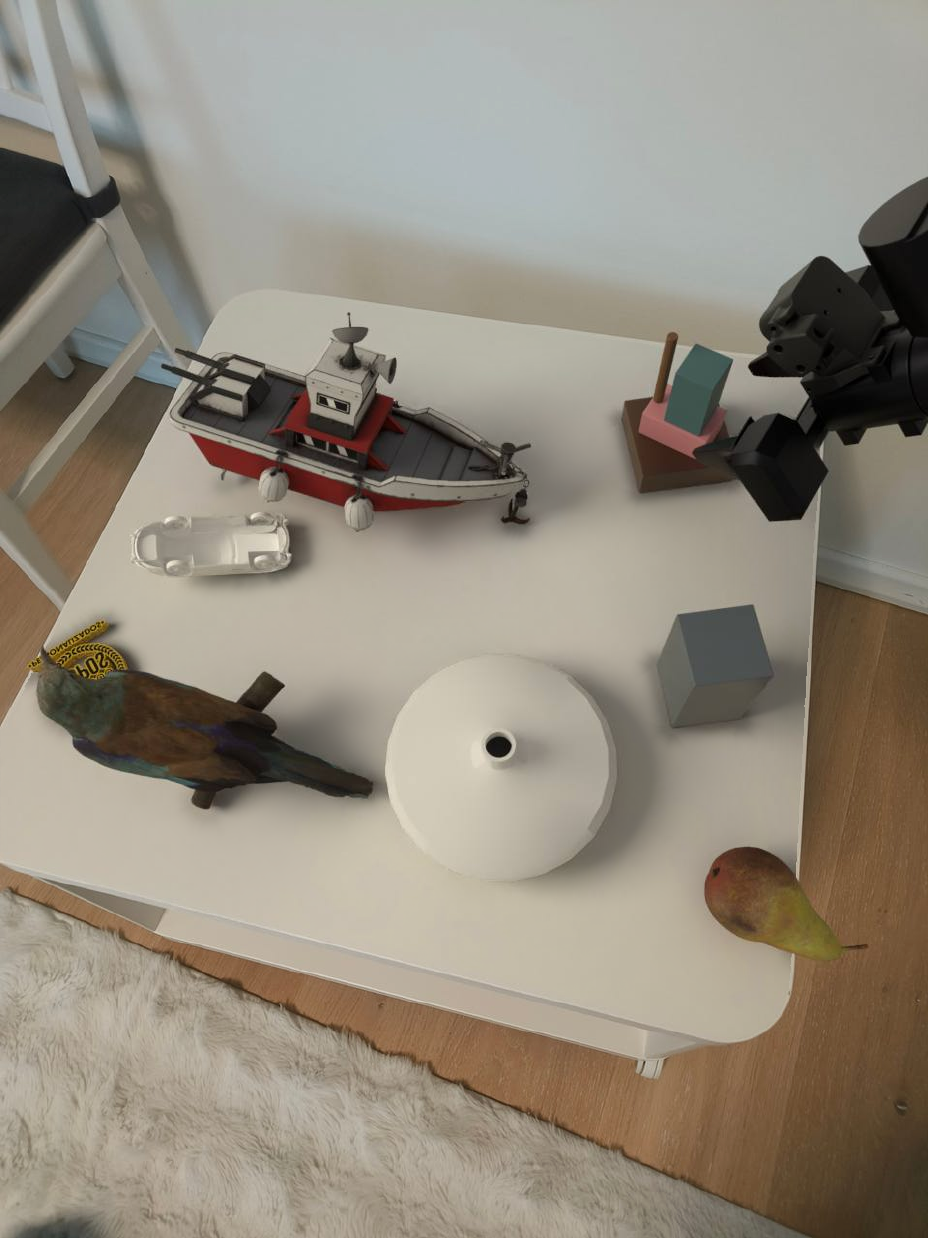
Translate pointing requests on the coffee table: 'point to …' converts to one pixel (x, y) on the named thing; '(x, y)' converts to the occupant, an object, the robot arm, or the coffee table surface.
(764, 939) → the fruit
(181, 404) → the toy boat
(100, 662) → the logo
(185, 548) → the toy car
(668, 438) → the peg stacking toy
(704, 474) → the walnut block
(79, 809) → the coffee table surface
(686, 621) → the grey rectangular block
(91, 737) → the bird figurine
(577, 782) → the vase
